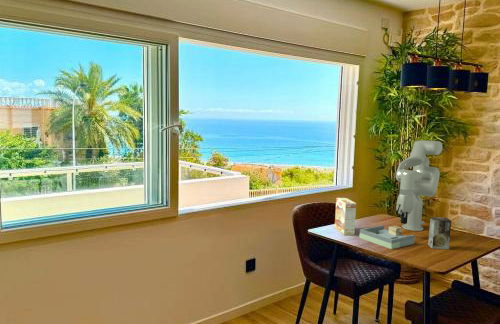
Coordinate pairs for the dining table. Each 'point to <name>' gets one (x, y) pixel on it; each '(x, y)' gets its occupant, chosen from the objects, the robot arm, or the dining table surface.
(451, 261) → the dining table surface
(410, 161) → the robot arm
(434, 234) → the coffee box
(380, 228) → the box
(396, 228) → the maple block
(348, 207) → the coffeecake box
